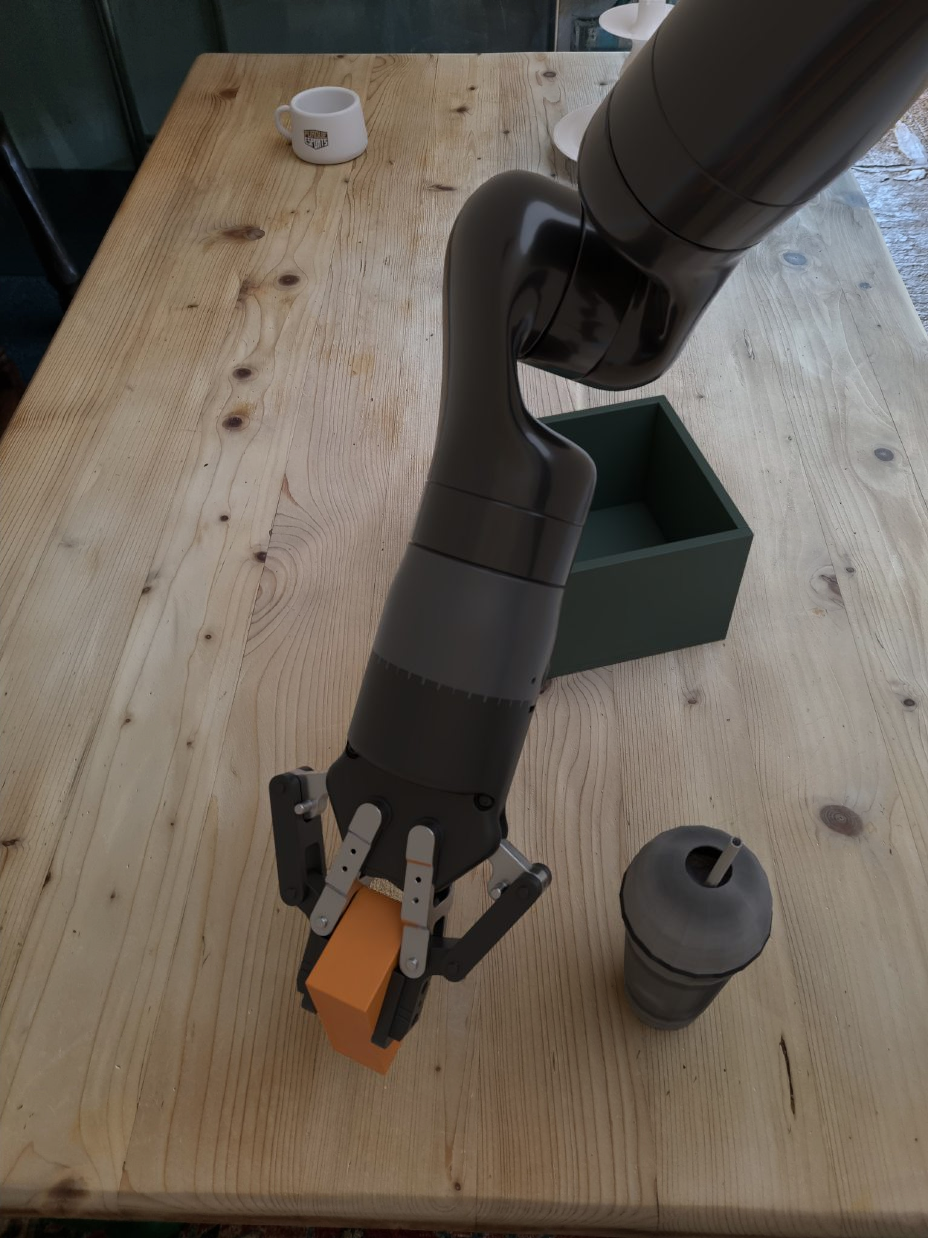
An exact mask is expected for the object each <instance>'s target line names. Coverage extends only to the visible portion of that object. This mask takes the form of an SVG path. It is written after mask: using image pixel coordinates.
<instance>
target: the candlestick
mask: <svg viewBox="0 0 928 1238" xmlns="http://www.w3.org/2000/svg"><path fill="white" fill-rule="evenodd" d="M674 6H675V4H671V3H667V0H638V2H634V3H633V2H632V3H626V4H621V5H617V6H613V7H611V8H609V9H607V10H606V11H604V12H602V14H600V16H599V18H598V24H599V26H600V27H601V28H602V30H603V31H606V32H608V33H609V34H611V35H614V36H617V37H620V38H624V39H627V40H628V39H629V40H631V43H632V44H631V45H632V46H631V49H630V51H629V53H628V55H627V56H626V58H625V59H624V61H623V64H621V67H620V71H619V75H618V76H619V78H618V80H619V79H620V78H621V76H622V74H623V73H624V72H625V71H626V69H627V68H628V67H629V65H630V64H631V63H632V61H633V60H634V59H635V57H636V56H637V55H638V53H639V52H640V51H641V49H642V48H643V47H644V45H645V44H646V43H647V41H648V40H649V39H650V37H651V36H652V35H653V33H654V32H655V31H656V29H657V28H658V27H659V25H660V24H661V23H662V21H663V20H664V19H665V18H666V17H667V15H668V14H669V12H670V11H671V10H672V8H673V7H674ZM602 102H603V100H601V101H597V102H593V103H590V104H589V103H588V104H586V105H583V106H580V107H578V108H576V109H573V110H571V111H570V112H568V113H566V114H565V115H564V116H563V117H561V118H560V119H559V120H558V121H557V123H556V124H555V126H554V128H553V131H552V139H553V142H554V144H555V146H556V147H557V148H558V150H559V151H560V152H561V153H562V154H563V155H565V156H566V157H567V158H569V159H571V160H572V161H575V162H576V163H577V157H578V152H579V146H580V143H581V140H582V137H583V135H584V132H585V130H586V128H587V126H588V124H589V122H590V120H591V119H592V117H593V115H594V113H595V112H596V110H597V109H598V107H599V106H600V104H601V103H602Z"/></svg>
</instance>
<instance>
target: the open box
mask: <svg viewBox="0 0 928 1238" xmlns="http://www.w3.org/2000/svg"><path fill="white" fill-rule="evenodd" d="M536 418H537V419H538V420H539V421H540V422H541V423H543V424H544V425H546V426H547V427H549V428H550V429H552V430H553V431H555V432H557V433H558V434H560V435H562V436H564V437H565V438H567V439H569V440H570V441H572V442H573V443H575V444H577V445H578V446H579V447H581V448H582V449H583V450H585V451H586V452H587V453H588V454H589V455H590V456H591V458H592V459H593V461H594V463H595V465H596V469H597V483H596V489H595V494H594V497H593V501H592V505H591V508H590V511H589V514H588V518H587V521H586V524H585V526H584V531H583V534H582V537H581V541H580V544H579V547H578V550H577V554H576V557H575V560H574V563H573V566H572V570H571V573H570V576H569V579H568V583H567V585H565V586H564V587H565V593H564V597H563V601H562V606H561V612H560V618H559V625H558V630H557V635H556V640H555V643H554V647H553V651H552V654H551V658H550V662H549V664H550V668H549V672H548V675H547V679H546V680H548V679H553V678H557V677H562V676H565V675H570V674H575V673H579V672H583V671H588V670H592V669H593V670H594V669H598V668H601V667H605V666H611V665H616V664H620V663H624V662H629V661H631V660H637V659H641V658H646V657H650V656H656V655H660V654H664V653H668V652H673V651H677V650H682V649H686V648H691V647H694V646H699V645H704V644H709V643H713V642H718V641H722V640H725V639H726V638H727V634H728V631H729V627H730V624H731V619H732V616H733V612H734V609H735V605H736V601H737V598H738V596H739V595H738V594H739V591H740V587H741V584H742V583H741V582H742V581H743V577H744V574H745V569H746V566H747V562H748V559H749V555H750V551H751V548H752V545H753V541H754V536H755V533H754V531H753V530H752V529H751V527H750V526H749V524H748V522H747V521H746V519H745V517H744V516H743V515H742V513H741V511H740V509H739V508H738V506H737V505H736V504H735V502H734V501H733V498H732V497H731V496H730V494H729V493H728V491H727V489H726V488H725V487H724V484H723V483H722V482H721V479H719V477H718V476H717V474H716V472H715V471H714V469H713V468H712V466H711V464H710V463H709V461H708V460H707V459H706V457H705V456H704V454H703V452H702V450H700V447H699V446H698V445H697V443H696V441H695V440H694V438H693V437H692V435H691V433H690V432H689V430H688V429H687V427H686V426H685V424H684V422H683V421H682V420H681V418H680V417H679V415H678V413H677V412H676V411H675V409H674V407H673V405H672V404H671V402H670V401H669V400H668V398H667V397H666V395H665V394H660V395H654V396H648V397H644V398H643V397H642V398H638V399H632V400H627V401H621V402H615V403H610V404H605V405H600V406H599V405H598V406H593V407H590V408H584V409H578V410H574V411H566V412H562V413H556V414H551V415H546V416H545V415H544V416H541V417H536Z"/></svg>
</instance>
